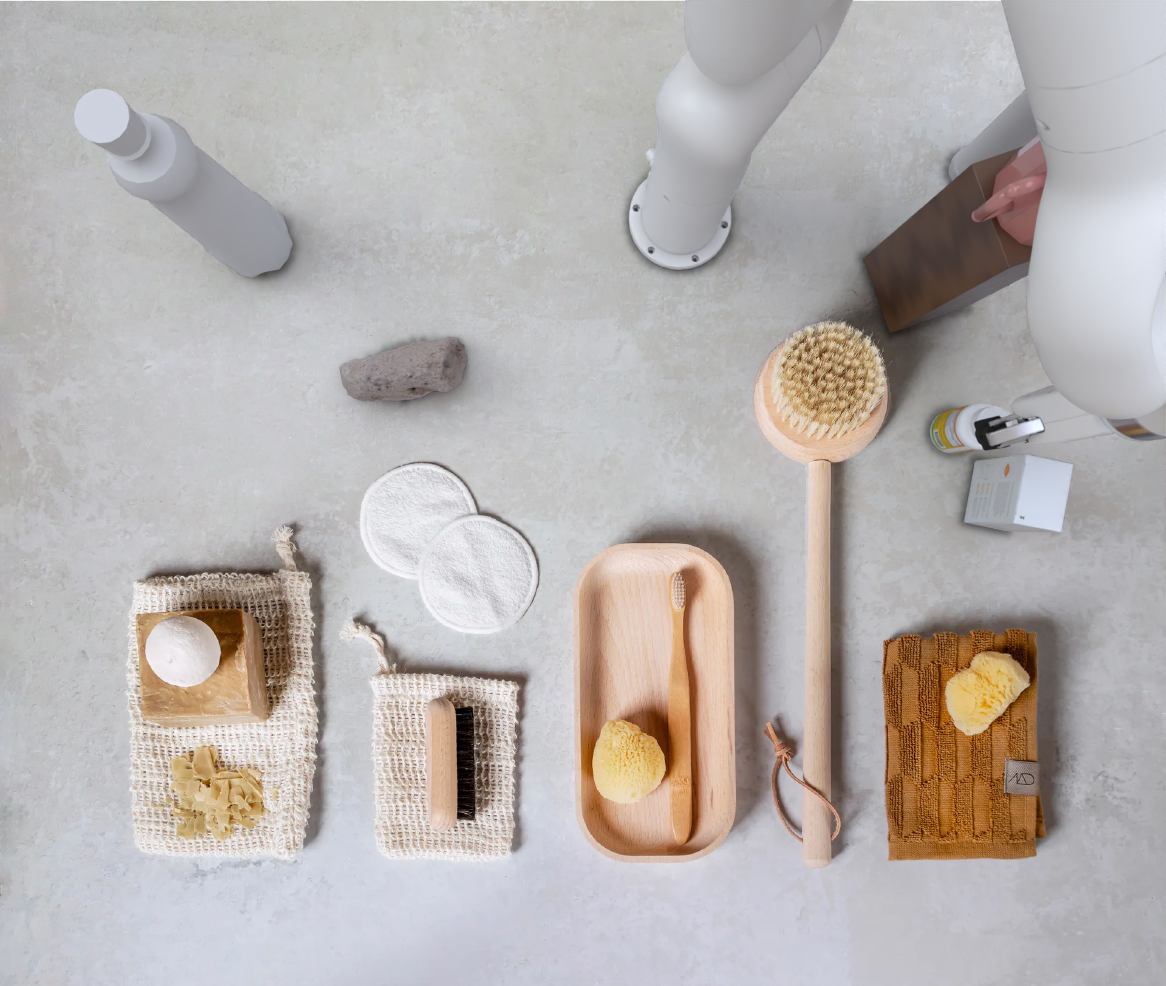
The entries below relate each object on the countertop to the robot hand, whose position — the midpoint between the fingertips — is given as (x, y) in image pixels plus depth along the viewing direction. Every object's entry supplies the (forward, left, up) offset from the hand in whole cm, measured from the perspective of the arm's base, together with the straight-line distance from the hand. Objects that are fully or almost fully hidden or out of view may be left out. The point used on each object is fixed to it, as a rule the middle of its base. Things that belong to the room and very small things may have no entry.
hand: (1025, 420), depth 75 cm
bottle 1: (-50, -73, -15) cm, 90 cm away
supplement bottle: (0, 0, -15) cm, 15 cm away
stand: (-19, +2, -15) cm, 24 cm away
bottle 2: (-30, +13, -15) cm, 36 cm away
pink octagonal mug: (-19, 0, +10) cm, 22 cm away
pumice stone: (-29, -61, -15) cm, 69 cm away
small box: (+9, +2, -15) cm, 17 cm away
